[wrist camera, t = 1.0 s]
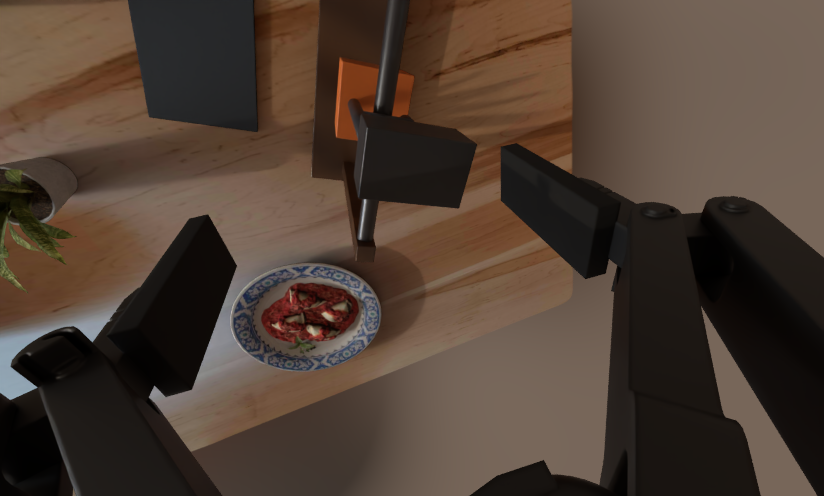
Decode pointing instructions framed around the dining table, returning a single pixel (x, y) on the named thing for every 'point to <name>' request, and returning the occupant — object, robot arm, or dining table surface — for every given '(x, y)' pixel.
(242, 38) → the mat
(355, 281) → the ceramic plate
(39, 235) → the house plant
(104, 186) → the dining table surface
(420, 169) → the orange block with hook
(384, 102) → the rack
